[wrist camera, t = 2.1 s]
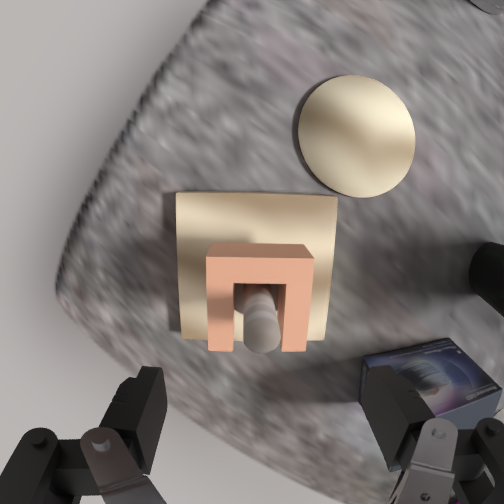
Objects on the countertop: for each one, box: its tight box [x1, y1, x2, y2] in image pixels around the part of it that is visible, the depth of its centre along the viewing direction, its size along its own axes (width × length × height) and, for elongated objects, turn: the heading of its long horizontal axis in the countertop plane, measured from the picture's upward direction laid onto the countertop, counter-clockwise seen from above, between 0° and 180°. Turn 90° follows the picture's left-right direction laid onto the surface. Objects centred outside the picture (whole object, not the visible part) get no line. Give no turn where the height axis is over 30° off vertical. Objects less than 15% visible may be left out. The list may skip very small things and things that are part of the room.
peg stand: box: [176, 192, 338, 353], centre depth 21 cm, size 12×12×11 cm
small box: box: [358, 338, 503, 472], centre depth 24 cm, size 11×6×10 cm, turn 96°
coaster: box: [298, 75, 415, 197], centre depth 23 cm, size 10×10×1 cm
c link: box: [206, 242, 315, 352], centre depth 20 cm, size 6×6×4 cm
